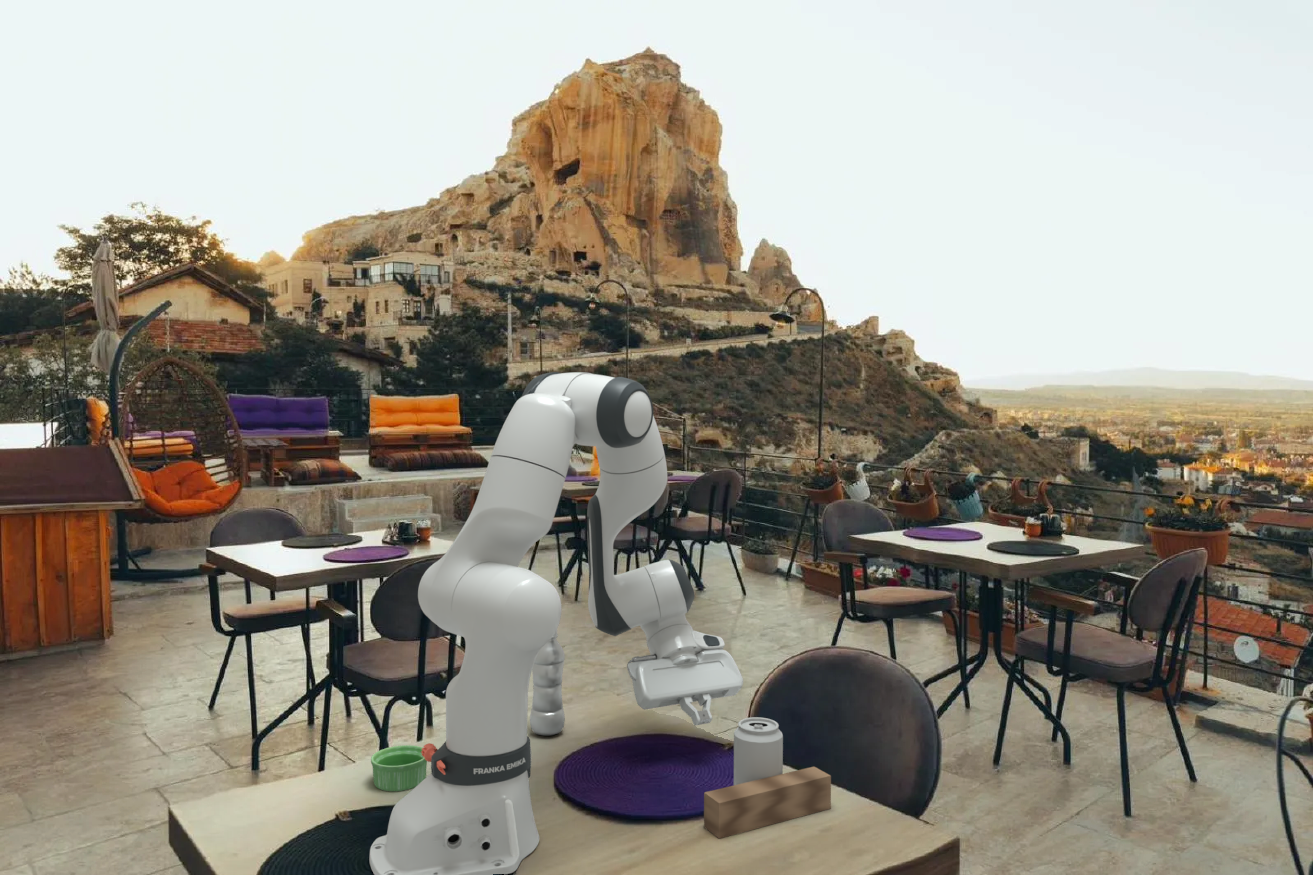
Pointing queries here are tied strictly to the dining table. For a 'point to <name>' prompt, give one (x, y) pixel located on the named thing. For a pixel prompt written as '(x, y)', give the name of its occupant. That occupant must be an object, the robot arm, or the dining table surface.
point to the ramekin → (398, 768)
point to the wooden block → (766, 801)
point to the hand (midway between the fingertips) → (703, 722)
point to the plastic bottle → (548, 689)
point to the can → (757, 750)
